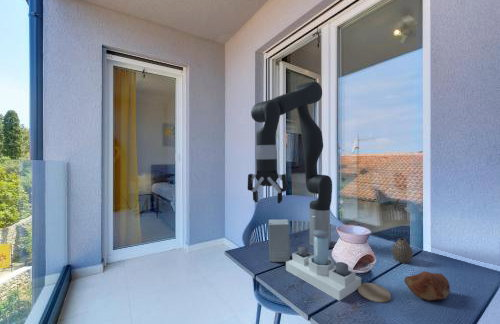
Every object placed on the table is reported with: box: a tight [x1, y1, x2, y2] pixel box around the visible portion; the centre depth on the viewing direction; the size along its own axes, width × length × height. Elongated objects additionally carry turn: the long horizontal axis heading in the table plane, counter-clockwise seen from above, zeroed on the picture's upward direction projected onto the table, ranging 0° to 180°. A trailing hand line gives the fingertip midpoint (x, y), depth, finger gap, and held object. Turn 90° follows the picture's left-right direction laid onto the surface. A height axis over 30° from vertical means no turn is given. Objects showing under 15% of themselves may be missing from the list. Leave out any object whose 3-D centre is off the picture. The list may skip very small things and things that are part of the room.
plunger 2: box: [335, 261, 349, 277], centre depth 72 cm, size 4×4×3 cm
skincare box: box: [268, 218, 291, 263], centre depth 93 cm, size 8×7×16 cm
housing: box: [285, 251, 362, 302], centre depth 79 cm, size 12×22×6 cm, turn 35°
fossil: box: [404, 271, 451, 302], centre depth 69 cm, size 13×8×10 cm
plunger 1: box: [297, 245, 309, 258], centre depth 85 cm, size 4×4×3 cm
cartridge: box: [313, 230, 329, 266], centre depth 78 cm, size 5×5×13 cm
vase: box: [391, 238, 414, 264], centre depth 91 cm, size 7×7×9 cm
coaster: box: [357, 282, 392, 303], centre depth 70 cm, size 9×9×1 cm
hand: (267, 202), depth 83 cm, fingers open, 8 cm apart
